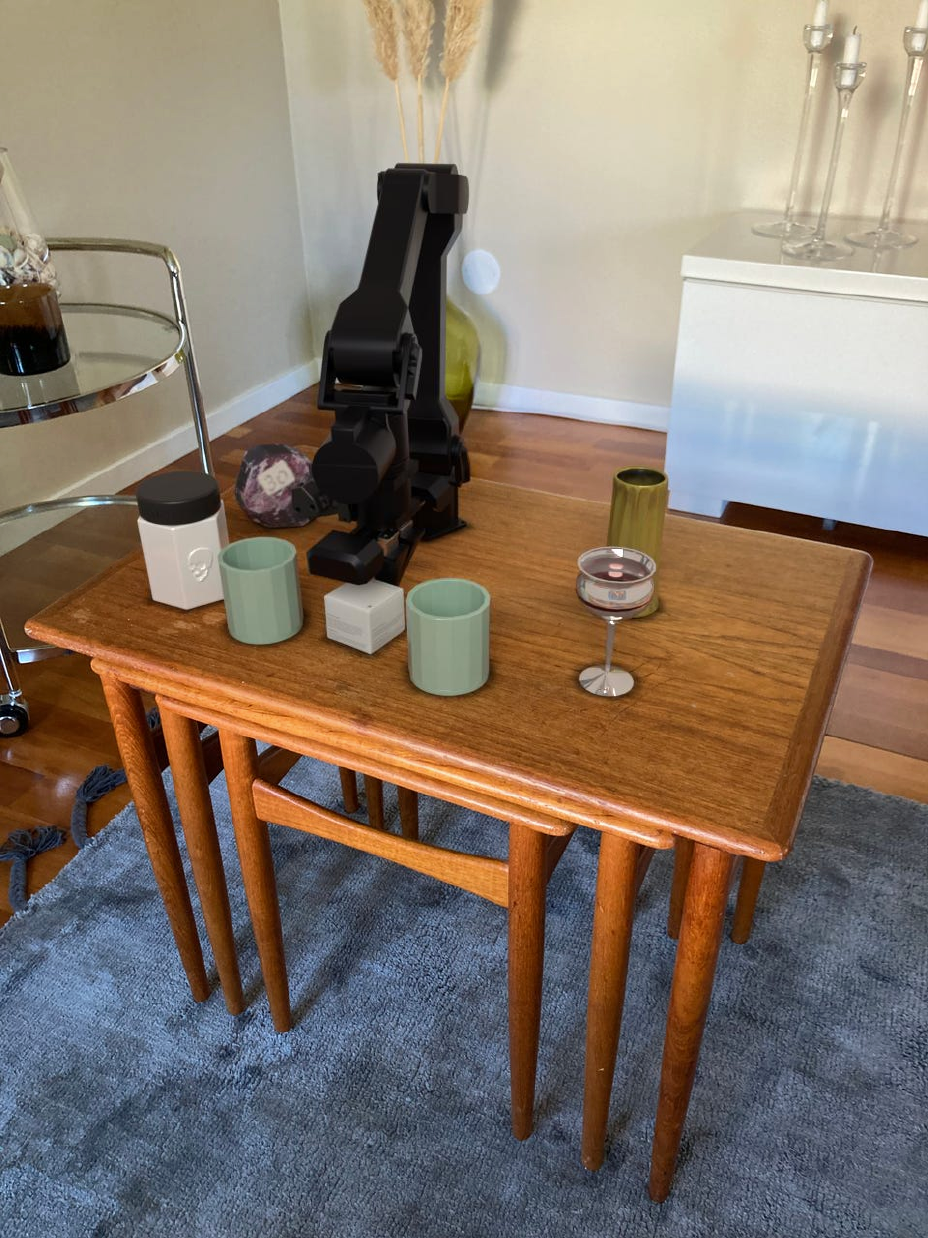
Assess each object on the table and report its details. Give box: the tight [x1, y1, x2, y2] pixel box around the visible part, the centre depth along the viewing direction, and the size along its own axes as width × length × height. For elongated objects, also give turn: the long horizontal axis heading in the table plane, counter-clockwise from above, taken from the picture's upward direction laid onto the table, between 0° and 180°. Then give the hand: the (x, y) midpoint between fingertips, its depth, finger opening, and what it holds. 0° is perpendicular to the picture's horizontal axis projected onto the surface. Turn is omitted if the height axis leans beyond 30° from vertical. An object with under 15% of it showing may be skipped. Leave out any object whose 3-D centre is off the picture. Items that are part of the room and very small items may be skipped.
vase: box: [606, 465, 669, 619], centre depth 96 cm, size 6×6×14 cm
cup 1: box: [217, 536, 304, 645], centre depth 94 cm, size 7×7×8 cm
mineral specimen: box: [233, 443, 313, 529], centre depth 115 cm, size 10×10×10 cm
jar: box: [134, 470, 230, 611], centre depth 99 cm, size 9×8×12 cm
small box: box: [323, 578, 406, 655], centre depth 93 cm, size 6×6×5 cm
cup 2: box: [405, 577, 492, 697], centre depth 87 cm, size 7×7×8 cm
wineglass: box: [574, 546, 656, 697], centre depth 85 cm, size 7×7×12 cm
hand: (388, 597), depth 98 cm, fingers closed
